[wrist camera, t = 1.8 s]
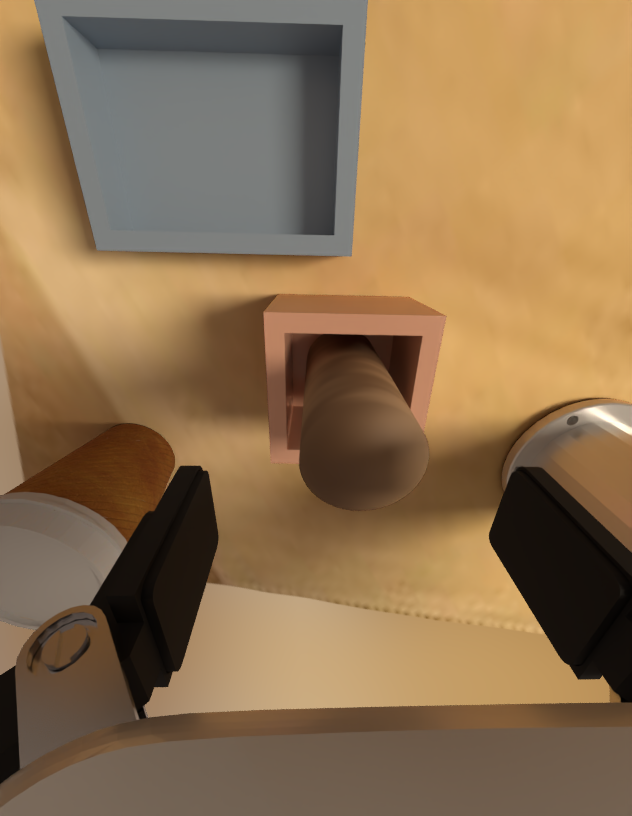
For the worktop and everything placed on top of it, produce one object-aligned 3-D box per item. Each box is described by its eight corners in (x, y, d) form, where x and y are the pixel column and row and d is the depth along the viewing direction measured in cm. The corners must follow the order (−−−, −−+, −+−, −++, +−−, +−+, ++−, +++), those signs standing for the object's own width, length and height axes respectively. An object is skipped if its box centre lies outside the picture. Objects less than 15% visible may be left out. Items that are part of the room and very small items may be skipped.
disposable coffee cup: (73, 396, 25) (-105, 504, 15) (195, 416, 26) (112, 532, 15) (87, 489, 30) (-43, 627, 19) (193, 504, 30) (126, 644, 20)
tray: (358, 40, 17) (368, -9, 13) (346, 255, 21) (351, 256, 18) (83, 31, 16) (29, -20, 13) (129, 250, 21) (96, 250, 18)
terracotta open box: (409, 296, 22) (446, 316, 16) (392, 413, 26) (417, 465, 20) (278, 294, 22) (263, 312, 16) (281, 411, 26) (270, 463, 20)
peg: (379, 328, 22) (440, 404, 11) (372, 395, 24) (417, 511, 14) (306, 327, 22) (298, 402, 11) (306, 394, 24) (299, 510, 14)
